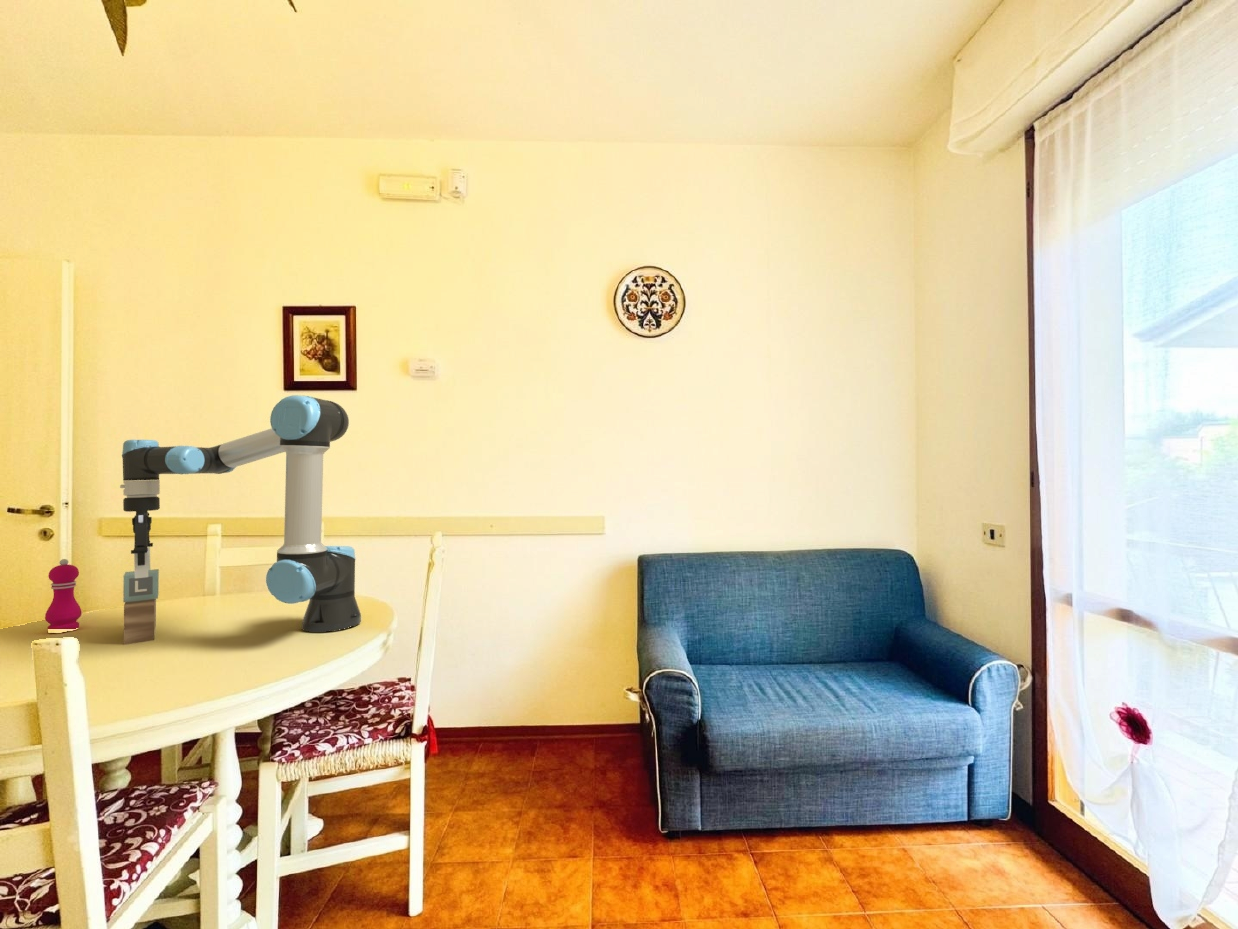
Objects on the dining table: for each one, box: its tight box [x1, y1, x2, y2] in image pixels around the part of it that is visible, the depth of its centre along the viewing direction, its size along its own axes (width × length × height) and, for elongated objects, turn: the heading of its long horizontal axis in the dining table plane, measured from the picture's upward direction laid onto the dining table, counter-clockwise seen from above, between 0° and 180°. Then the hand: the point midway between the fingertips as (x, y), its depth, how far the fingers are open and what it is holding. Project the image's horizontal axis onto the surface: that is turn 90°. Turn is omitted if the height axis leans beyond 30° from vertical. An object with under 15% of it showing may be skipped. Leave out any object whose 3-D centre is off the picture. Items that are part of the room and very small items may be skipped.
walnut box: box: [123, 599, 157, 645], centre depth 151 cm, size 16×6×10 cm, turn 39°
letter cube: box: [122, 568, 160, 603], centre depth 151 cm, size 7×7×7 cm
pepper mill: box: [44, 558, 82, 629], centre depth 154 cm, size 7×7×20 cm
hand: (142, 574), depth 151 cm, fingers open, 13 cm apart
